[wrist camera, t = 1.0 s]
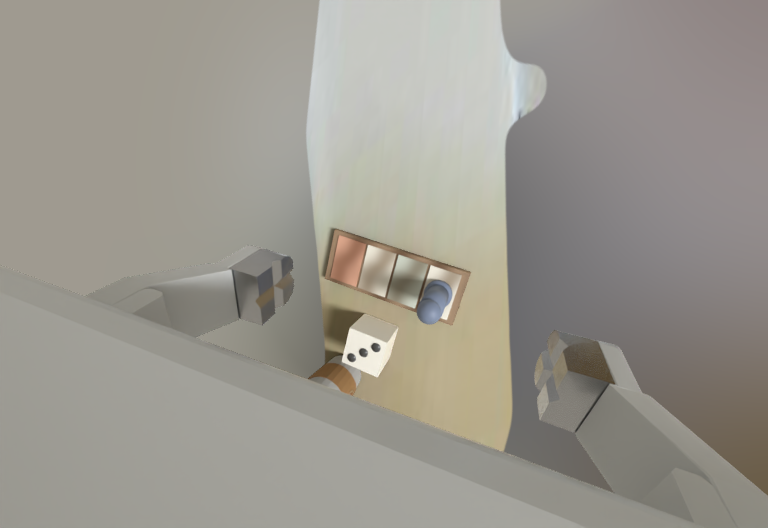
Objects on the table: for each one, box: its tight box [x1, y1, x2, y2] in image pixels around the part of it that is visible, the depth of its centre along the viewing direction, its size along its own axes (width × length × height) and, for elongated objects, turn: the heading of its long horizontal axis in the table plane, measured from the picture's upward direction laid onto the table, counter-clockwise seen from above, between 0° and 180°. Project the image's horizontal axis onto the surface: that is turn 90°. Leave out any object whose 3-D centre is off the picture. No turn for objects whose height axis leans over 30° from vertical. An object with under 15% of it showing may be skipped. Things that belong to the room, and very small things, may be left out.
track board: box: [325, 229, 471, 325], centre depth 48 cm, size 22×8×1 cm, turn 78°
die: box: [342, 314, 399, 377], centre depth 49 cm, size 6×6×6 cm
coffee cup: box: [308, 355, 361, 396], centre depth 48 cm, size 8×8×15 cm
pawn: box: [417, 280, 452, 324], centre depth 41 cm, size 4×4×9 cm
